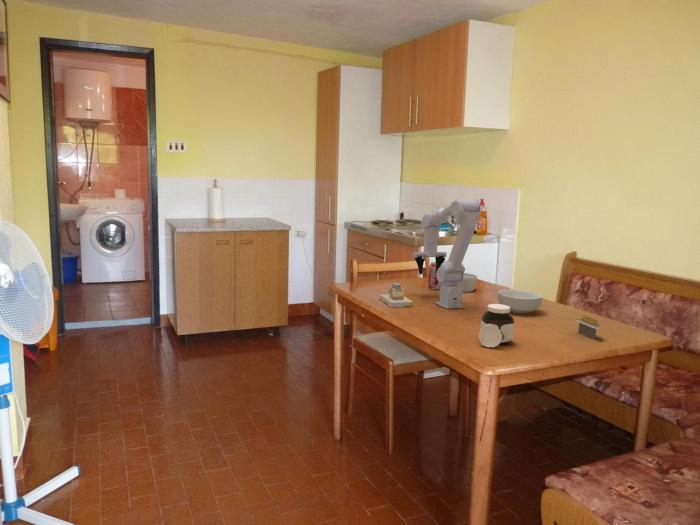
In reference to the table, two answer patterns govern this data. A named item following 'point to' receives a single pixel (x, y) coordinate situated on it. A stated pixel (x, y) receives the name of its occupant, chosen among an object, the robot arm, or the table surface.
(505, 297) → the cereal bowl
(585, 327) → the grey yellow-topped box
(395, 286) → the grey square prism
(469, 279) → the ramekin
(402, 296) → the tan hollow block
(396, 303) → the dock
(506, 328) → the spread jar
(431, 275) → the soda can
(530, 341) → the table surface
